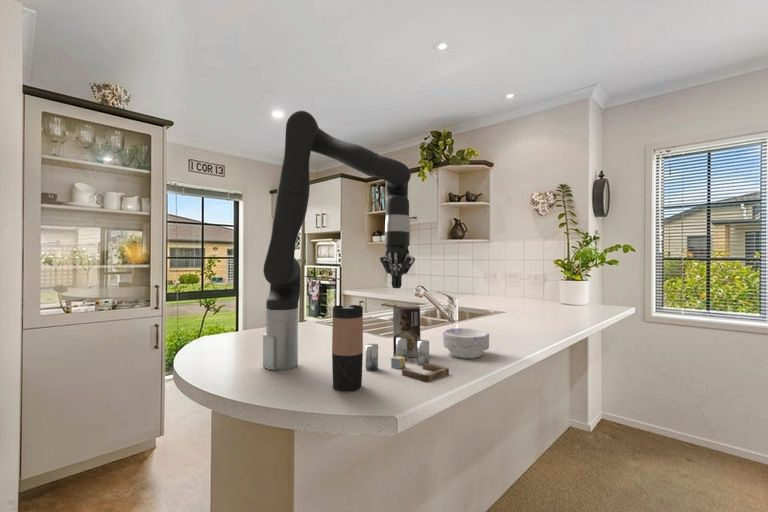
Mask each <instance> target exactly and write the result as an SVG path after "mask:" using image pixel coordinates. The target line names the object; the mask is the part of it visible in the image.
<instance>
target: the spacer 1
mask: <svg viewBox="0 0 768 512" xmlns="http://www.w3.org/2000/svg"><path fill="white" fill-rule="evenodd" d="M378 370H379V344H377V343H367V344H365V371H368V372H376V371H378Z"/></svg>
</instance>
